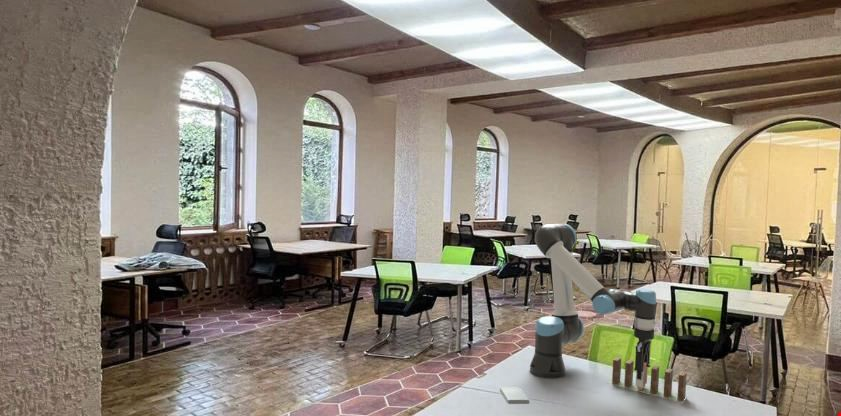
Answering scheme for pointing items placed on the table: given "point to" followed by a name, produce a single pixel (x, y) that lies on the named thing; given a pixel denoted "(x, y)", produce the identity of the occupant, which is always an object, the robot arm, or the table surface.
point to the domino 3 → (644, 376)
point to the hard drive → (514, 395)
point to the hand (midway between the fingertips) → (641, 384)
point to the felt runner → (648, 390)
